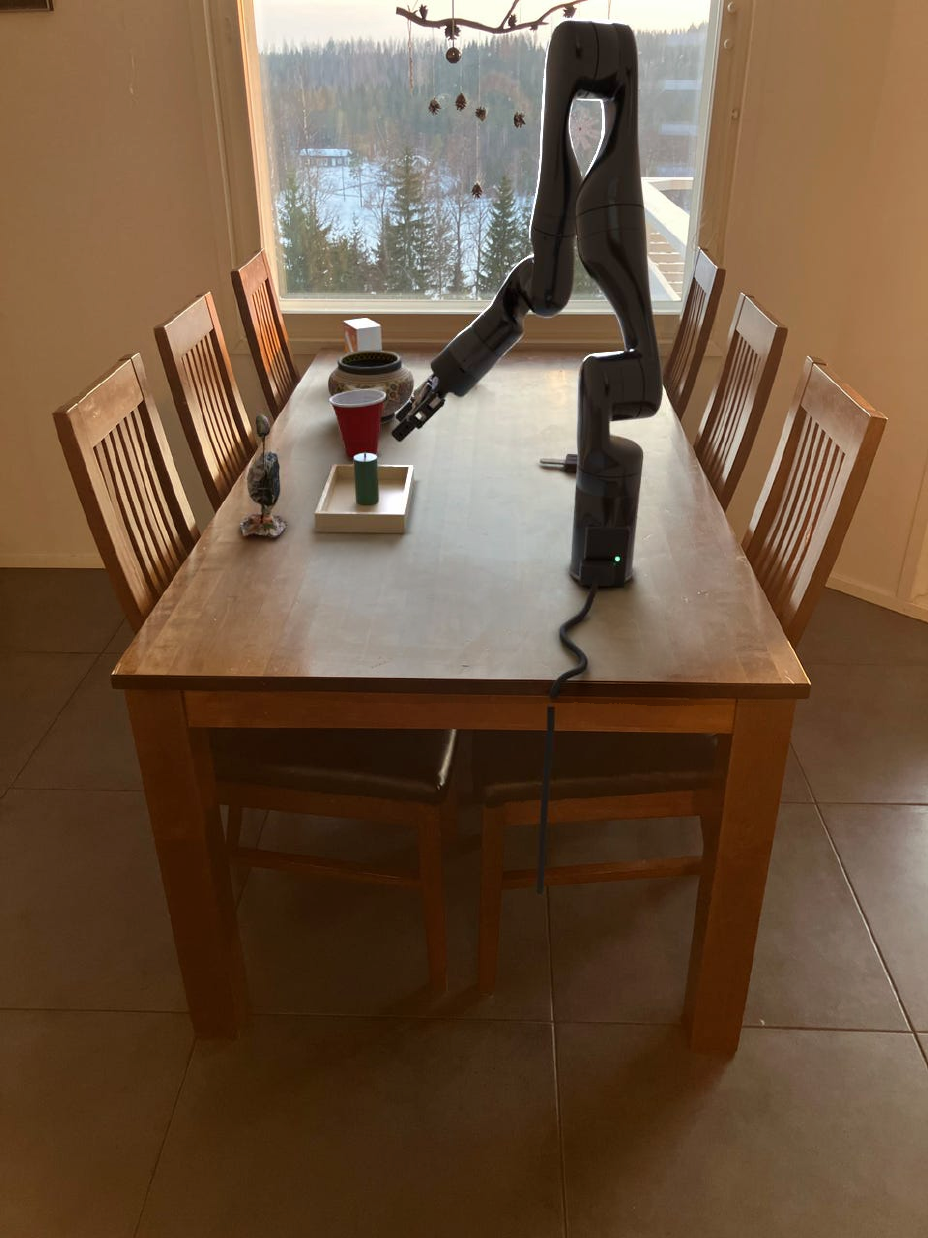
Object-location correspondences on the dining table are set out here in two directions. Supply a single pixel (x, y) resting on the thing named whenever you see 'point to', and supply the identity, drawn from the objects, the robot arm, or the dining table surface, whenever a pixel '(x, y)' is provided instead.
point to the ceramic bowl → (374, 378)
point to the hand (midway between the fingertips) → (397, 429)
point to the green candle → (366, 479)
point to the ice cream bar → (564, 462)
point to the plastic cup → (359, 419)
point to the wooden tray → (348, 516)
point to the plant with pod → (264, 488)
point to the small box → (362, 335)
